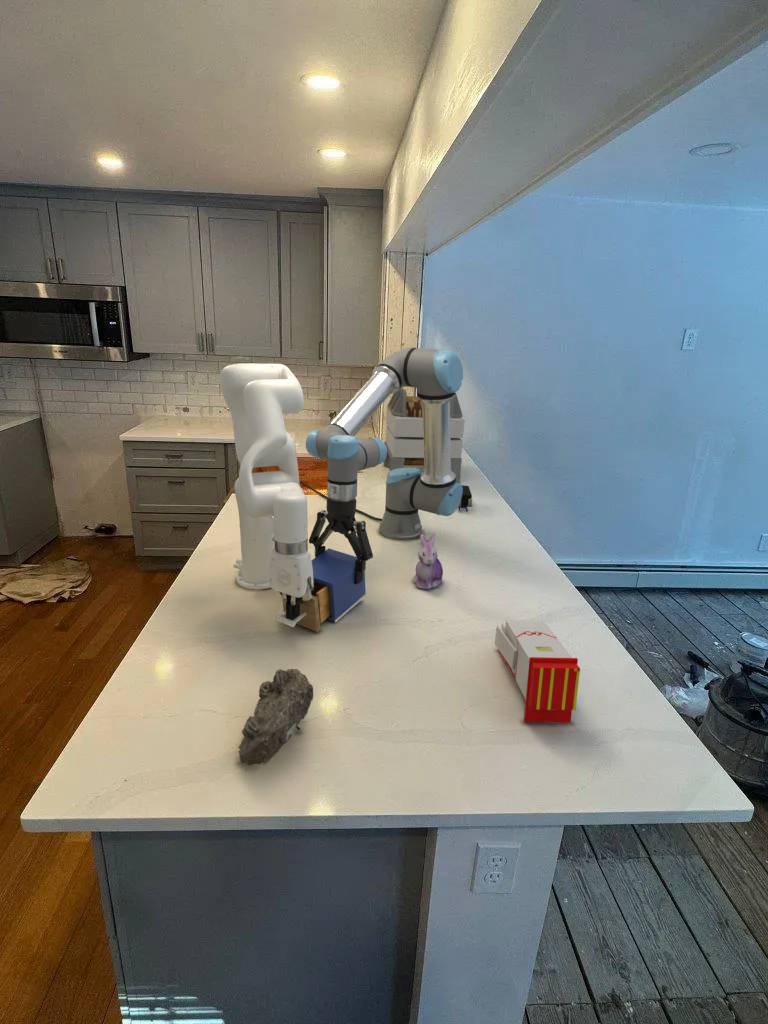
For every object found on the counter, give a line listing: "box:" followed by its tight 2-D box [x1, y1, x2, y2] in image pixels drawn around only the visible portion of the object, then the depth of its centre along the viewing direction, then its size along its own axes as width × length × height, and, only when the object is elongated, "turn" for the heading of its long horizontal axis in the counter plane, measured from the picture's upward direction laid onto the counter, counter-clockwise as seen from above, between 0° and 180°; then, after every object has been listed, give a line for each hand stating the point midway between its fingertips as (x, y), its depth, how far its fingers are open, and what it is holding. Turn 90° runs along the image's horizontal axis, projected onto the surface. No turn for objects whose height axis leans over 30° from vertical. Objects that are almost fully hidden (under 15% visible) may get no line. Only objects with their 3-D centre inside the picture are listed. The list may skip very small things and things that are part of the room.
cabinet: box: [311, 548, 367, 623], centre depth 148 cm, size 14×12×12 cm
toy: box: [494, 619, 581, 724], centre depth 121 cm, size 12×13×30 cm
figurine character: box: [457, 484, 473, 512], centre depth 229 cm, size 7×8×15 cm
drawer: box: [275, 581, 331, 633], centre depth 140 cm, size 18×10×9 cm, turn 148°
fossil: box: [238, 668, 314, 766], centre depth 104 cm, size 22×10×15 cm
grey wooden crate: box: [382, 387, 465, 483], centre depth 268 cm, size 34×33×41 cm
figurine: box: [413, 532, 444, 590], centre depth 162 cm, size 9×10×15 cm
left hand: (293, 616), depth 135 cm, fingers closed
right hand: (339, 575), depth 150 cm, fingers closed on cabinet, 12 cm apart
